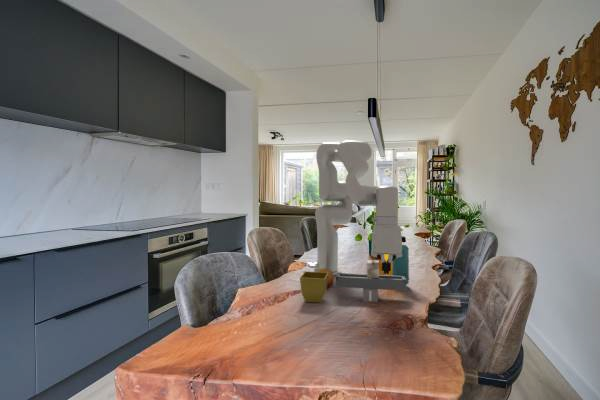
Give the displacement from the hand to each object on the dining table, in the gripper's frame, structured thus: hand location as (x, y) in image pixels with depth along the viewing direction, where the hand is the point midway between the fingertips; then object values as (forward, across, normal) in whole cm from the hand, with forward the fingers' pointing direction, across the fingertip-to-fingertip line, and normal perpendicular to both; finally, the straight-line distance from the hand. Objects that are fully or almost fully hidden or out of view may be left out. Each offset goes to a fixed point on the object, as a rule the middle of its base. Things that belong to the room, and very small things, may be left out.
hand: (386, 273), depth 122 cm
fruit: (+9, -24, +11) cm, 28 cm away
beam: (+9, -6, 0) cm, 11 cm away
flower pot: (+9, -25, -7) cm, 27 cm away
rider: (+3, -4, 0) cm, 5 cm away
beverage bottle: (+9, +6, +17) cm, 20 cm away
